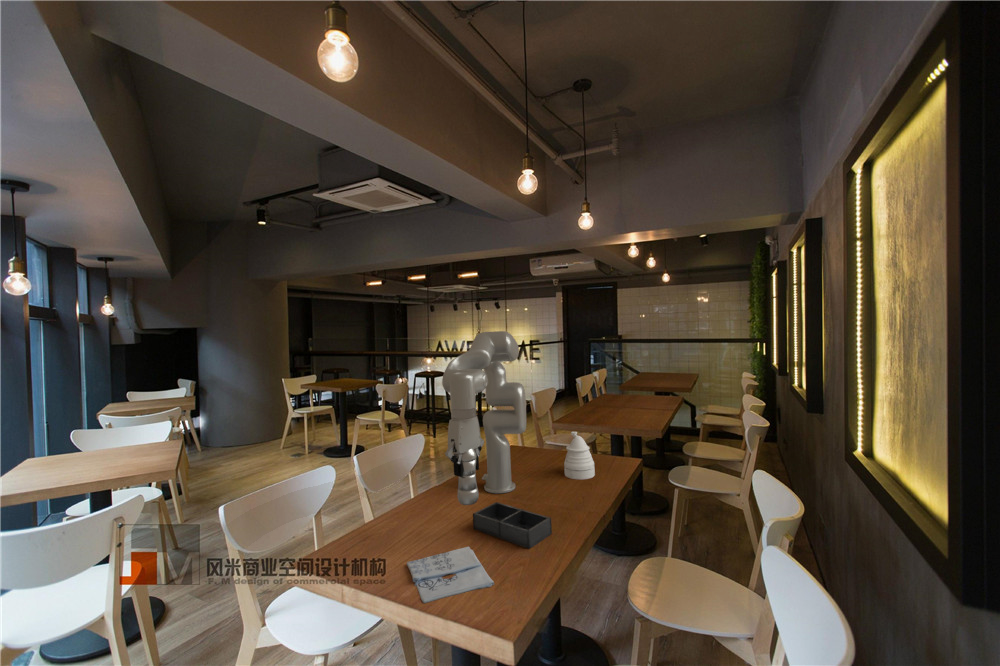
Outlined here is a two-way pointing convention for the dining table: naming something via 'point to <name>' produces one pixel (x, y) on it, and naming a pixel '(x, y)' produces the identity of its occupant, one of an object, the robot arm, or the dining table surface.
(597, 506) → the dining table surface
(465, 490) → the grey stacked bottle
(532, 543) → the divided tray
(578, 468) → the honey pot
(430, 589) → the folded bicycle print cloth
